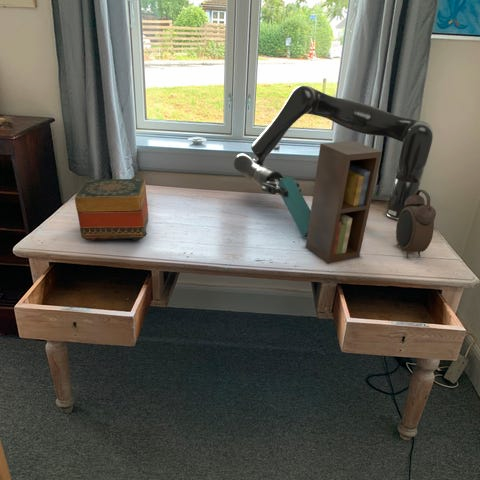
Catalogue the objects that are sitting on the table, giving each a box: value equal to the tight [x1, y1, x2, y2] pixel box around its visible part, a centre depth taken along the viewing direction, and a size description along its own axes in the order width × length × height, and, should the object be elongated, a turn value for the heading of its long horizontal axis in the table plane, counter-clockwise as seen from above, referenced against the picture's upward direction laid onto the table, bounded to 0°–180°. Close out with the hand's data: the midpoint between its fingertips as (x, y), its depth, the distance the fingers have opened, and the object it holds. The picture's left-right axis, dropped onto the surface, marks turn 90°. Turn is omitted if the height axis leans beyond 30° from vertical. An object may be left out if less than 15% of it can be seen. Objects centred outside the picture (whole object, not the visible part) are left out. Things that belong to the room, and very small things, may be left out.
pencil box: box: [278, 176, 311, 239], centre depth 162 cm, size 22×5×4 cm
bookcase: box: [305, 140, 383, 265], centre depth 142 cm, size 12×12×32 cm
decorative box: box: [74, 178, 149, 242], centre depth 149 cm, size 20×22×16 cm
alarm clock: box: [395, 189, 437, 259], centre depth 148 cm, size 14×7×20 cm, turn 5°
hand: (293, 193), depth 162 cm, fingers closed on pencil box, 4 cm apart
